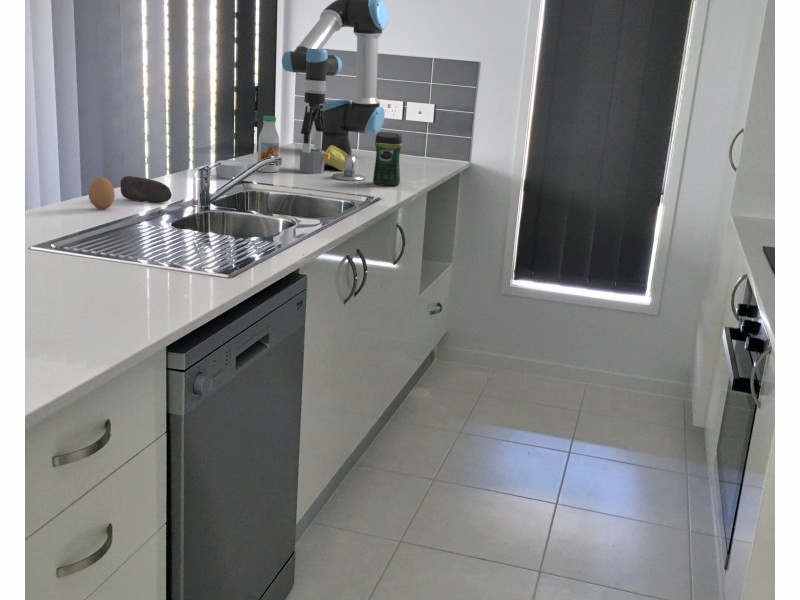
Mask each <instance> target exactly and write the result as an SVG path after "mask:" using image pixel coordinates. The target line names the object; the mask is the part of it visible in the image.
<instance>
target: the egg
mask: <svg viewBox="0 0 800 600" xmlns="http://www.w3.org/2000/svg"><path fill="white" fill-rule="evenodd" d="M115 198H116V197H115V189H114V186H113V185H112V183H111V182H110V180H109V179H107V178H106V177H103V176H100V177H99V176H98V177H96V178H95V179H94V180H93V181H92V182H91V183H90V186H89V187H88V199H89V201H90V202H89V203H91V204H92V205H93V206H94V207H95V208H96V209H97V210H106V208H107V209H108V208H110V207H111V206H112V205H113V203H114V201H115Z"/></svg>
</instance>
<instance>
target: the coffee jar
mask: <svg viewBox="0 0 800 600" xmlns="http://www.w3.org/2000/svg"><path fill="white" fill-rule="evenodd" d="M375 135H376V136H375V142H374V145H375V162H374V170H373V177H372V183H374V185H379V186H386V187H389V186H391V187H393V186H399V185H400V183H401V171H400V170H401V169H400V153H401V149H402V147H403V136H402V134H401V133H399V132H398V133H397V132H391V131H379V132H378V133H376V134H375Z"/></svg>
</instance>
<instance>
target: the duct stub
mask: <svg viewBox="0 0 800 600" xmlns="http://www.w3.org/2000/svg"><path fill="white" fill-rule="evenodd" d="M356 158H357V156H355V155H351V156H345V160H344V171H343V172H341V173H340V172H339V173H333V174H332V178H333V179H334V178H335V180H338V181H343V180H344V182H345V181H346V182H363V181H365V180H366V176H365V175H363V174H357V173H356V161H357V160H356Z"/></svg>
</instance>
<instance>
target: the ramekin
mask: <svg viewBox="0 0 800 600" xmlns="http://www.w3.org/2000/svg"><path fill="white" fill-rule="evenodd" d="M218 162H222V163H221V164H220V165H219V166H218V167H216V166H215V168H216V176H217V177H218V178H220V179H222V178H223V180H231V179H232V178H233V177H235V176H236V175H238V174H239V173H241V172H242V171H244V170H245V169H248V162H245V161H243V160H234V159H222V160H217V161H215V162H214V163H218Z"/></svg>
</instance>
